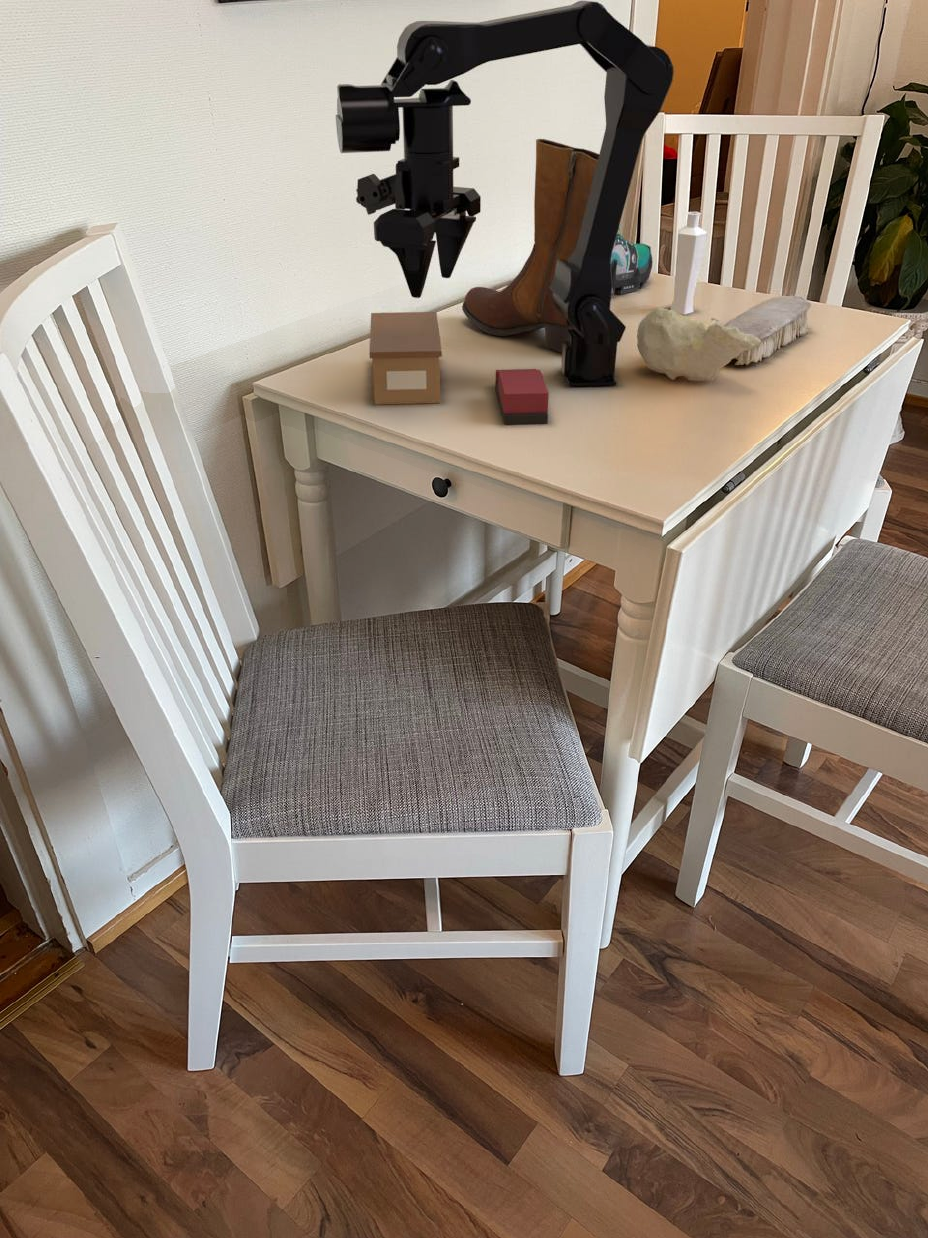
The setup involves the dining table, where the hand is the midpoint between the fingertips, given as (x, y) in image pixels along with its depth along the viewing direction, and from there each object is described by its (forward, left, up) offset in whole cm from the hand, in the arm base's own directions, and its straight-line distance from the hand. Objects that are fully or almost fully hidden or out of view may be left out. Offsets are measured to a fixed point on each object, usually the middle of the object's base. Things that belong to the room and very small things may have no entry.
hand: (431, 287), depth 120 cm
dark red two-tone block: (-11, +6, -14) cm, 18 cm away
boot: (-15, -21, -14) cm, 30 cm away
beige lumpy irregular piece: (-36, -3, -14) cm, 39 cm away
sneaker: (-31, -45, -14) cm, 57 cm away
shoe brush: (-49, -15, -14) cm, 54 cm away
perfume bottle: (-41, -32, -14) cm, 54 cm away
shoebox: (+4, -3, -14) cm, 14 cm away
